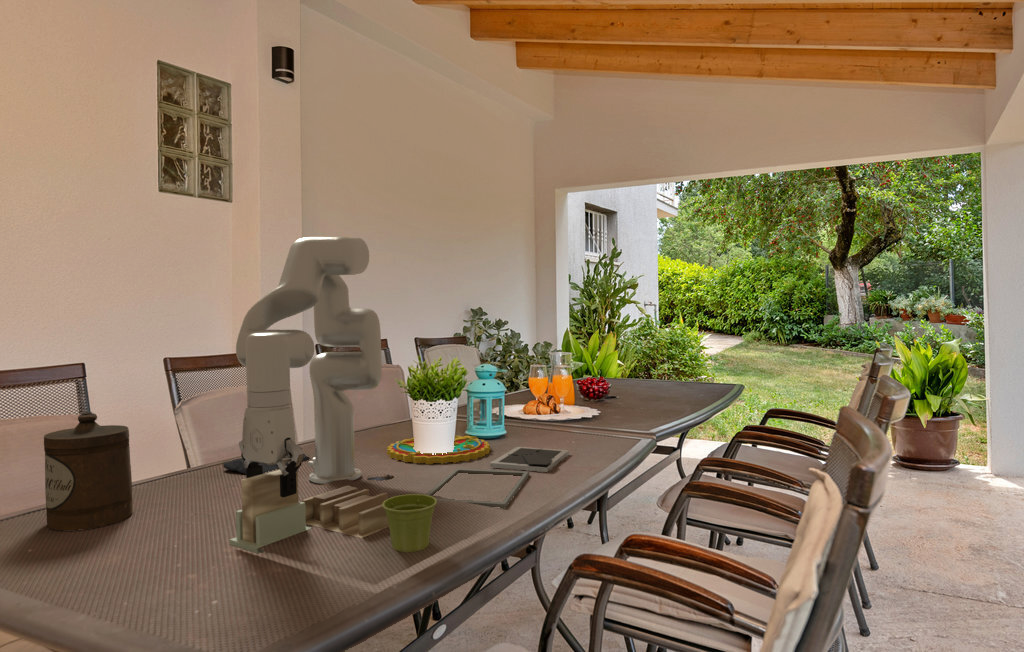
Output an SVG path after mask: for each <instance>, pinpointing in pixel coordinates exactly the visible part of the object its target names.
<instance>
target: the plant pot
mask: <svg viewBox="0 0 1024 652" xmlns="http://www.w3.org/2000/svg"><path fill="white" fill-rule="evenodd" d="M436 498H437V497H435V496H430V495H426V494H420V493H419V494H418V493H412V494H411V493H410V494H402V495H395V496H392V497H389V498H387V500H385V501H384V502H383V504H382V506H383V508H384V509H385V512H386V515H387V517H388V523H389V527H388V528H389V535H390V540H391V547H392V549H393V550H395V551H397V552H403V553H414V552H417V551H421V550H424V549H426V548H427V547H428V546H429V543H430V533H431V528H432V519H433V513H434V512H435V506H436V505H437V503H438V500H436Z"/></svg>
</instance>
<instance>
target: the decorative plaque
mask: <svg viewBox="0 0 1024 652" xmlns="http://www.w3.org/2000/svg"><path fill="white" fill-rule="evenodd" d="M454 436H455V441H454V446H455V447H454V450H453V452H447V454H446V453H443V455H442V453H436V455H435V453H434V455H432V453H423V454H421V453H420V451H418V452H416V451H415V450H414V449H413V447H414V438H415V437H412V438H406V439H403V440H397V441H395V443H390V445H388V446H387V448H386V455H390V456H389V459H390V458H396V459H395V461H396V460H403V461H404V462H413V464H414V463H422V464H423V463H425V465H433V463H441V464H440V465H444V464H443V463H445V464H447V463H446V462H453V463H452V464H457V463H460V462H459V461H467V462H470V461H471V460H470V459H474V460H479V458H484V457H483V456H486V455H490V452H491V444H489V441H486V440H485V439H479V438H478V437H477V436H470V435H464V436H461V435H454ZM485 454H486V455H485ZM478 457H479V458H478ZM403 461H402V462H403ZM404 462H403V463H404ZM456 462H457V463H456Z"/></svg>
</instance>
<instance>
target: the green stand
mask: <svg viewBox="0 0 1024 652" xmlns="http://www.w3.org/2000/svg"><path fill="white" fill-rule="evenodd" d="M235 520H236V521H235V522H236V523H235V524H236V525H235V526H236V537H232V538H230V539H229V546H231V545H232V546H231V547H234V546H235V547H234V548H238V549H241V548H242V550H244V551H248V552H250V553H255V554H258V555H259V554H260V553H263V552H265V550H263V549H261V548H262V547H265V546H267V545H271V544H273V543H275V542H278V541H280V540H284V539H286V538H289V537H292V536H295V535H298V534H300V533H302V532H306V531H308V530H311V529H312V527H311V526H308V525H307V524H306V517H305V502H302V501H299V503H296V504H293V505H290V506H287V507H284V508H281V509H278V510H274V511H271V512H268V513H265V514H262V515H259V516H256V543H251V542H247V541H244V540H243V524H242V509H239V510H235Z"/></svg>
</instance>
